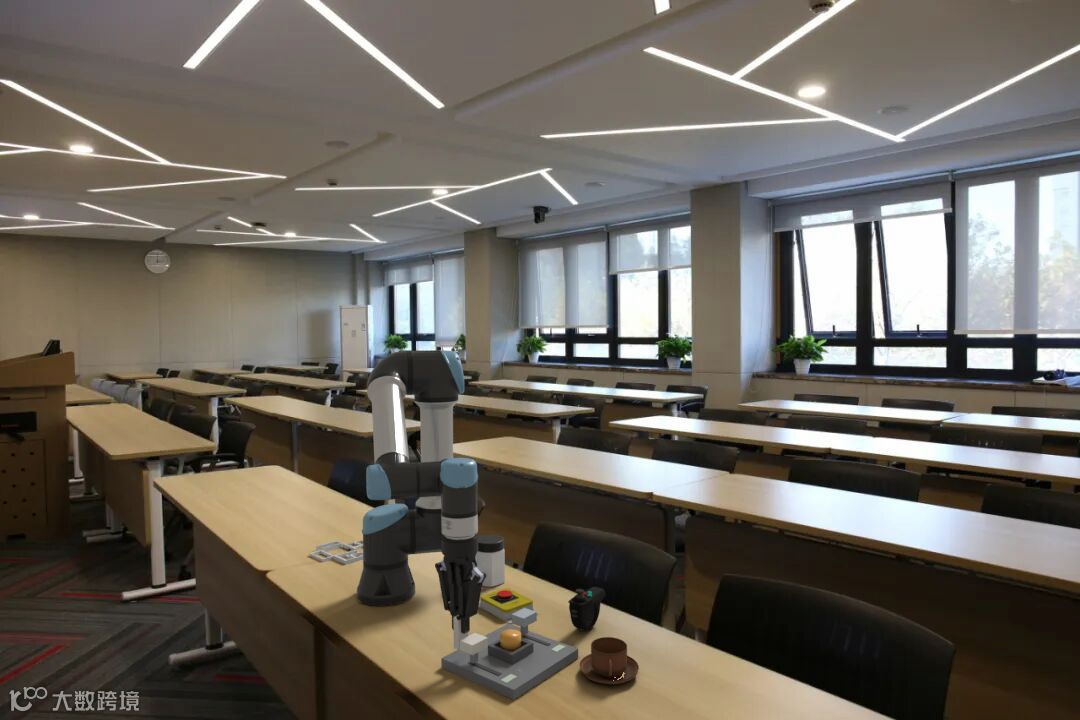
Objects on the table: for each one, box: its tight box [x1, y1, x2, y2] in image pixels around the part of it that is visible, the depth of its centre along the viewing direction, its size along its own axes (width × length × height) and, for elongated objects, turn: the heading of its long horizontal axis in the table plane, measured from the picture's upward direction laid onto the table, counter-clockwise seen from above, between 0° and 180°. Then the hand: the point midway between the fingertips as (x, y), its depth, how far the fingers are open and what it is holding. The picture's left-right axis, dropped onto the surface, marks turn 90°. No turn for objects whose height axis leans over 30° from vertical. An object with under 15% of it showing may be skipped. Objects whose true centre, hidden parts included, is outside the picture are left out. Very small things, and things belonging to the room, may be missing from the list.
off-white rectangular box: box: [460, 632, 488, 663], centre depth 139 cm, size 4×4×5 cm
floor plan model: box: [309, 539, 363, 565], centre depth 212 cm, size 19×25×2 cm
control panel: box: [441, 623, 579, 701], centre depth 144 cm, size 20×21×4 cm
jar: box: [475, 534, 506, 588], centre depth 190 cm, size 9×8×12 cm
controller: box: [567, 586, 607, 632], centre depth 160 cm, size 4×12×10 cm, turn 145°
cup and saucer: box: [579, 636, 640, 685], centre depth 139 cm, size 12×12×6 cm
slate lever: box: [512, 608, 538, 635], centre depth 152 cm, size 4×4×5 cm
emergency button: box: [478, 587, 540, 625], centre depth 171 cm, size 9×4×15 cm
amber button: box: [500, 629, 521, 650], centre depth 144 cm, size 4×4×2 cm
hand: (461, 646), depth 141 cm, fingers closed
